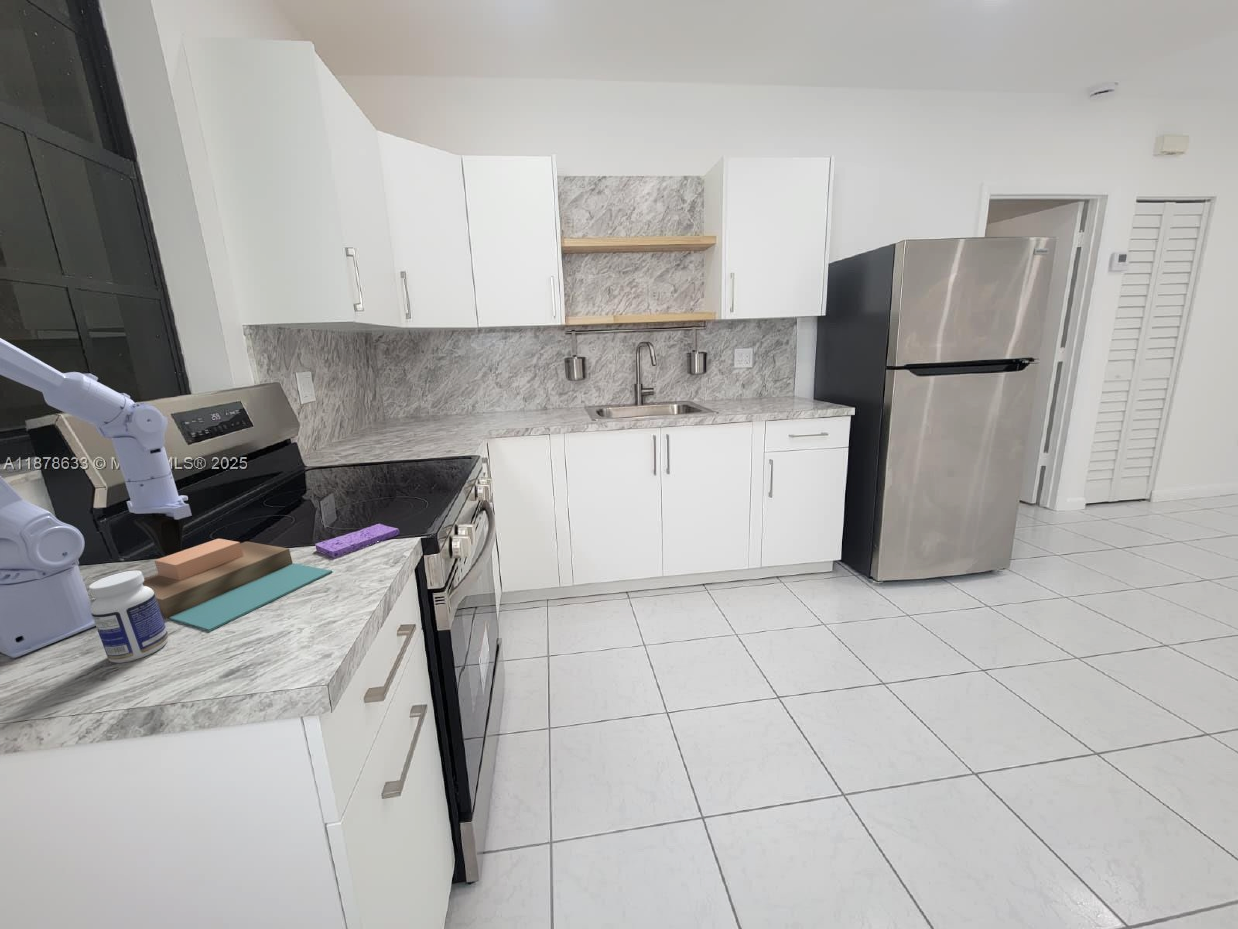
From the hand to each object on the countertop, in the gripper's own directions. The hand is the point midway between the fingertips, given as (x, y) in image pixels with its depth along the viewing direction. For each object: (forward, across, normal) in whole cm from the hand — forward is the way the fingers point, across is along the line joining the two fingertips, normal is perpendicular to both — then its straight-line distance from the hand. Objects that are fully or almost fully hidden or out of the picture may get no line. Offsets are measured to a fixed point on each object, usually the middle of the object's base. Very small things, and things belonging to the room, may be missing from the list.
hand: (172, 554), depth 84 cm
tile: (0, -8, 0) cm, 8 cm away
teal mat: (+4, -22, 0) cm, 22 cm away
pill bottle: (+4, -22, +15) cm, 27 cm away
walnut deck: (+4, -10, 0) cm, 11 cm away
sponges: (+5, -19, -20) cm, 28 cm away
